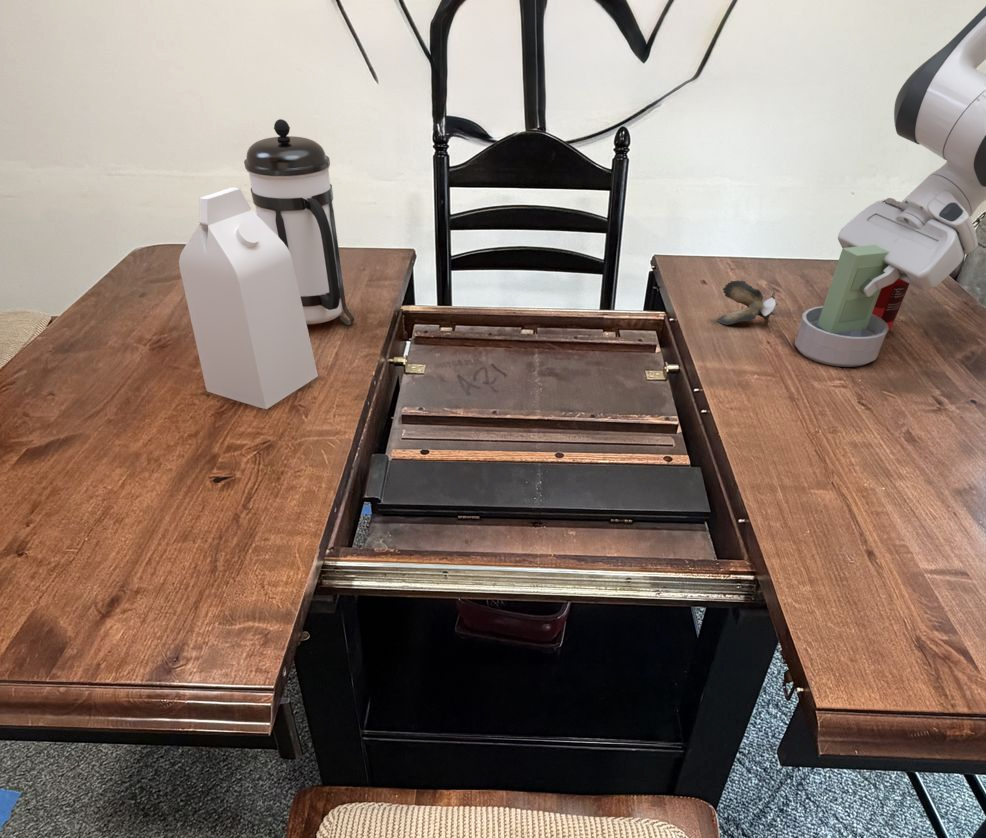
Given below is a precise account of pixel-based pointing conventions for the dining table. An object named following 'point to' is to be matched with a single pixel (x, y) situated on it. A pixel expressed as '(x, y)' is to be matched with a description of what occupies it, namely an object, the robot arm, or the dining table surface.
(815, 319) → the bowl
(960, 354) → the dining table surface
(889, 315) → the canned food
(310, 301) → the coffee press
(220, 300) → the milk
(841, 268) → the toy door
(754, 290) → the eagle figurine
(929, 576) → the dining table surface
